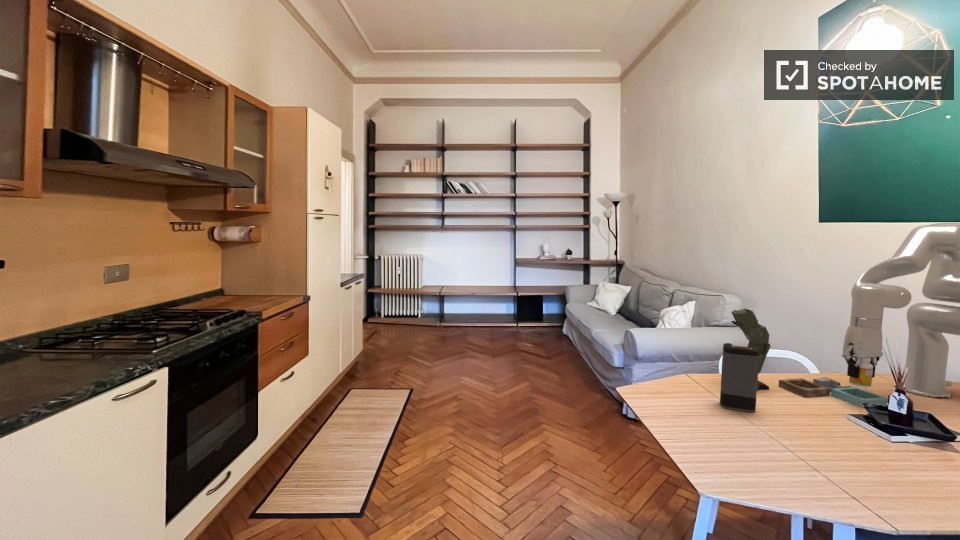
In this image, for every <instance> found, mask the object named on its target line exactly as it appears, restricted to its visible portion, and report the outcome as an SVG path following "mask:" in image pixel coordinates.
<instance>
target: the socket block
mask: <svg viewBox="0 0 960 540" xmlns="http://www.w3.org/2000/svg"><path fill="white" fill-rule="evenodd" d="M778 388H781V389H783V390H785V391H788V392H790V393H793V394H795V395H798V396H800V397H803V398H806V399H807V398H819V397H831V392H830V389H829V388H827V387H824V386H821V385H819V384H816V383H813V381H810V380H807V379H805V378H789V379H787V378H786V379H778Z"/></svg>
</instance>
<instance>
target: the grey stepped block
mask: <svg viewBox="0 0 960 540" xmlns="http://www.w3.org/2000/svg"><path fill="white" fill-rule="evenodd" d="M812 379H813V380H812V382H813V383H816V384H819V385H821V386H824V387H837V382H838V380H836V379H832V378H829V377H826V376H822V377H820V378H812Z"/></svg>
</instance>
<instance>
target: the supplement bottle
mask: <svg viewBox="0 0 960 540" xmlns="http://www.w3.org/2000/svg"><path fill="white" fill-rule="evenodd" d="M853 359H854V361H855V360H856V358H853ZM870 362H871V358H861V360H860V362H859V365H858V366H859V367H860V372H859V378H854V377H851V376H848V377H849V378H848V382H849V384H851V385H853V386H855V387H859V388H871V387H872V383H873V378H872V374H873V365H872V364H870Z"/></svg>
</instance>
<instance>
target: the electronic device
mask: <svg viewBox="0 0 960 540" xmlns="http://www.w3.org/2000/svg"><path fill="white" fill-rule="evenodd" d="M758 366H759V349H758V348H757V347H755V346H751V345H748V344H747V346H743V345H742V346H740V345H733V343H730V342H728V343H727V342H726V343H724V344H723V345H722V360H721V377H720V379H721V380H720V396H719V397H720V398H719V403H720V406H721V407H722V408H724V407H725V408H724V409H727V408H729V409H728V410H733V409H735V410H734V411H739V410H740V411H739V412H746V413H754V412H756V410H757V409H756V408H757V395H758V394H757V392H758V391H757V382H758V381H759V380H758V379H759V374H758Z"/></svg>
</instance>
